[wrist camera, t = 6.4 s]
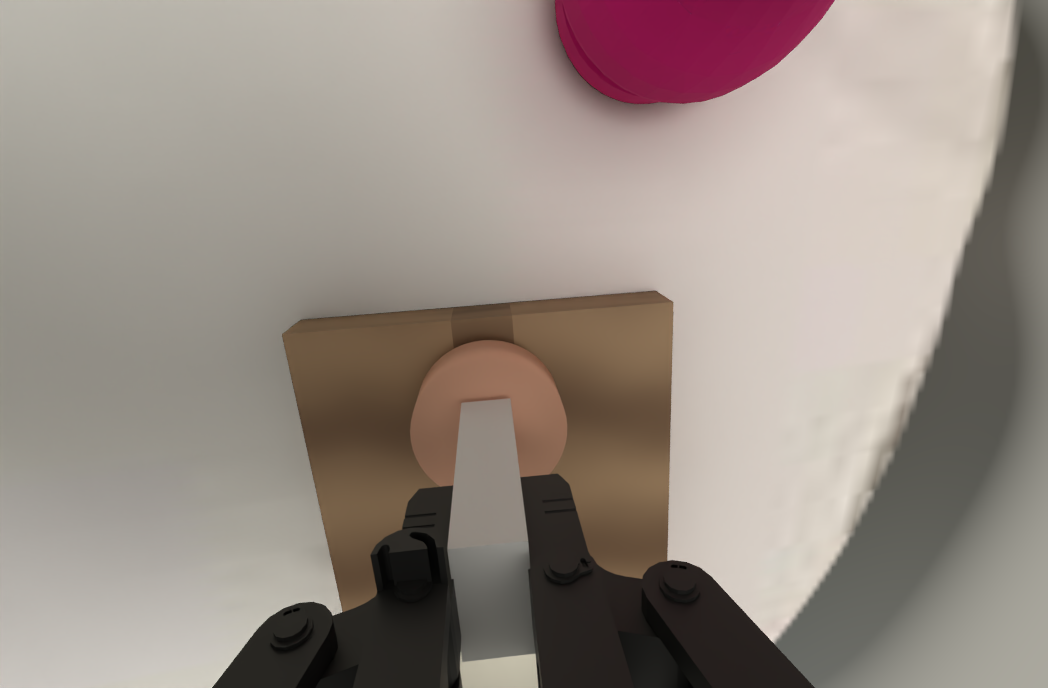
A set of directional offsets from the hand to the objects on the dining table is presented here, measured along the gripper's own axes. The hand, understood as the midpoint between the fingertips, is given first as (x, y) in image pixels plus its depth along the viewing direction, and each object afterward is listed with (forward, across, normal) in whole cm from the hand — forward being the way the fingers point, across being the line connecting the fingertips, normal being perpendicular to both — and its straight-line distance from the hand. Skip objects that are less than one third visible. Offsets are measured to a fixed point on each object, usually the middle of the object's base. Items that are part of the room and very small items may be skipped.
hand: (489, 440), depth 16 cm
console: (+6, 0, -7) cm, 9 cm away
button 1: (+5, 0, 0) cm, 5 cm away
